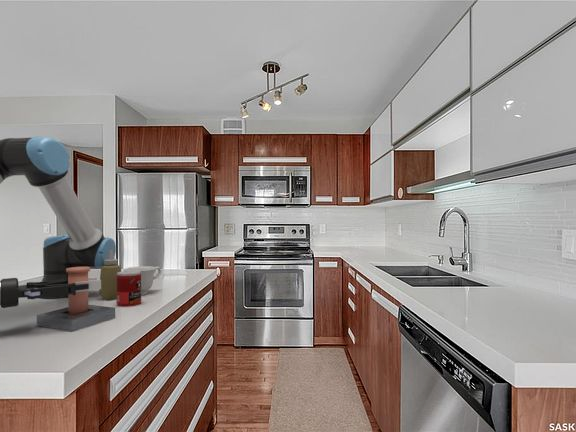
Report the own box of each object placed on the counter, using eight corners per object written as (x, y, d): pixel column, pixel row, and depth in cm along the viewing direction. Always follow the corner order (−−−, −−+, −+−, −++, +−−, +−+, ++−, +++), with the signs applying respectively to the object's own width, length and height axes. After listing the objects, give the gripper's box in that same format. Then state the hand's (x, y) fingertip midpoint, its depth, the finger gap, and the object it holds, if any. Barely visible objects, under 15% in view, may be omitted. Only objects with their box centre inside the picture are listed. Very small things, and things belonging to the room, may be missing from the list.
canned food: (132, 307, 123) (132, 274, 123) (111, 306, 124) (111, 273, 124) (146, 301, 130) (145, 270, 130) (125, 300, 132) (125, 270, 132)
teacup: (168, 292, 147) (168, 267, 147) (132, 298, 136) (132, 271, 136) (153, 288, 155) (153, 264, 155) (117, 294, 144) (117, 268, 144)
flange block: (36, 325, 102) (36, 314, 102) (82, 313, 115) (82, 303, 115) (71, 331, 97) (71, 320, 97) (115, 317, 109) (115, 307, 109)
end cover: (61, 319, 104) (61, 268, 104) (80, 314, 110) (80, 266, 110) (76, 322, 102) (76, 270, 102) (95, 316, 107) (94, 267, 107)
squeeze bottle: (127, 296, 138) (127, 249, 138) (111, 301, 131) (110, 251, 131) (111, 295, 141) (110, 248, 141) (93, 300, 133) (93, 250, 133)
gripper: (-1, 301, 102) (92, 290, 116) (-1, 315, 88) (105, 301, 102) (-1, 274, 102) (92, 267, 116) (-1, 284, 88) (105, 274, 102)
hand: (98, 283), depth 109 cm, fingers closed on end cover, 5 cm apart
